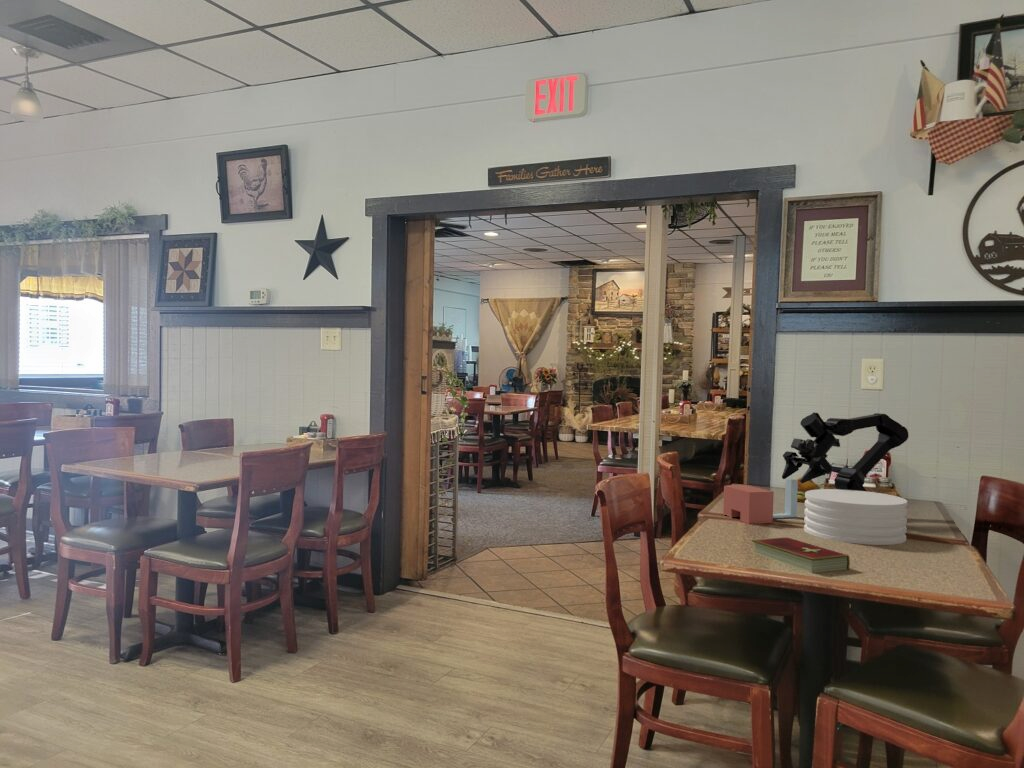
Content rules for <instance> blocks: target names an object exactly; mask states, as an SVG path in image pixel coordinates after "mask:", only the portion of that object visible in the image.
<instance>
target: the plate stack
mask: <svg viewBox="0 0 1024 768" xmlns="http://www.w3.org/2000/svg"><path fill="white" fill-rule="evenodd" d="M805 498H806V499H807V500H805V502H804V506H805V508H804V511H803V512H804V517H803V519H804V520H803V522H804V525H803V530H804V532H805V533H807V534H809V535H811V536H815V537H818V538H821V539H826V540H830V541H835V542H840V543H841V542H842V543H850V544H859V545H873V546H874V545H875V546H876V545H877V546H878V545H879V546H880V545H881V546H883V545H884V546H885V545H898V544H899V545H900V544H902V543H903V544H904V543H905V542H906V541H907V535H906V534H907V531H908V530H907V526H906V525H907V522H908V519H907V517H906V516H907V515H908V509H907V508H906V507H908V499H905V498H903V497H901V496H900V497H899V496H897V495H892V494H887V493H882V492H881V493H880V492H874V491H868V490H866V491H857V490H841V489H836V488H832V489H831V488H825V489H822V488H821V489H818V490H810V491H807V492H805Z"/></svg>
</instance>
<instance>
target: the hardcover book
mask: <svg viewBox="0 0 1024 768" xmlns="http://www.w3.org/2000/svg"><path fill="white" fill-rule="evenodd" d="M751 542H753V545H754V546H753V554H755V555H758V556H761V557H764V558H766V557H767V559H769V558H770V560H772V559H773V560H772V561H775V560H776V562H778V561H779V563H782V564H785V565H788V566H790V567H793V568H796V569H799V570H802V571H805V572H807V573H810V574H811V573H812V574H815V573H816V574H817V573H823V572H825V573H826V572H833V571H834V572H835V571H843V570H846V571H847V570H850V565H851V564H850V556H849V555H848V554H845V553H841V552H840V551H839V552H838V551H835V550H832V549H828V548H825V547H821V546H818V545H815V544H813V543H812V544H811V543H808V542H806V541H805V542H804V541H801V540H797V539H794V538H792V537H791V538H790V537H787V536H783V537H782V536H781V537H772V538H761V539H759V538H757V539H752V540H751Z"/></svg>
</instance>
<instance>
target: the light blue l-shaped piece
mask: <svg viewBox="0 0 1024 768" xmlns="http://www.w3.org/2000/svg"><path fill="white" fill-rule="evenodd" d="M797 479H798V478H797ZM797 479H796V478H789V477H788V478H785V490H784V492H785V493H784V495H785V496H784V513H783V512H782V513H781V512H780V513H773V519H780V518H781V519H784V518H797V517H798V515H797V514H798V501H797V491H798V480H797Z"/></svg>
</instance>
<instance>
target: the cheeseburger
mask: <svg viewBox="0 0 1024 768" xmlns="http://www.w3.org/2000/svg"><path fill="white" fill-rule="evenodd" d="M802 477H803V476H801V477H799V478H797V480H798V491H797V503H798V502H799V503H805V500H807V499H806V498H805V492H807V491H810V490H818V489H820V485H818V484H817V483H816V482H814V481H813V479H812V480H809V481H807V482H804V483H801V482H800V480H801V478H802Z"/></svg>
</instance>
